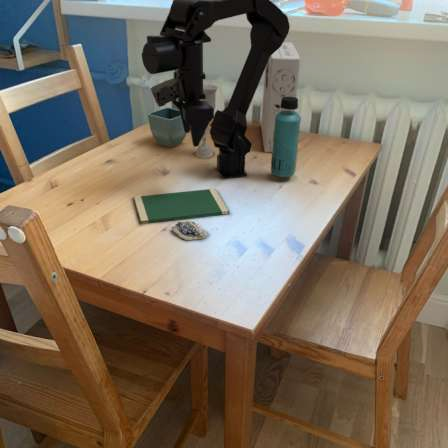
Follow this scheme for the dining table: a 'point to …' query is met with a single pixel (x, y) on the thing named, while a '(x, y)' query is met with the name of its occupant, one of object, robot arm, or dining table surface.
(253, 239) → the dining table surface
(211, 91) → the chalice
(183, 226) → the blueberries
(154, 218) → the green flat rectangular block
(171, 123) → the flower pot
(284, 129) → the beverage bottle
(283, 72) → the cereal box
